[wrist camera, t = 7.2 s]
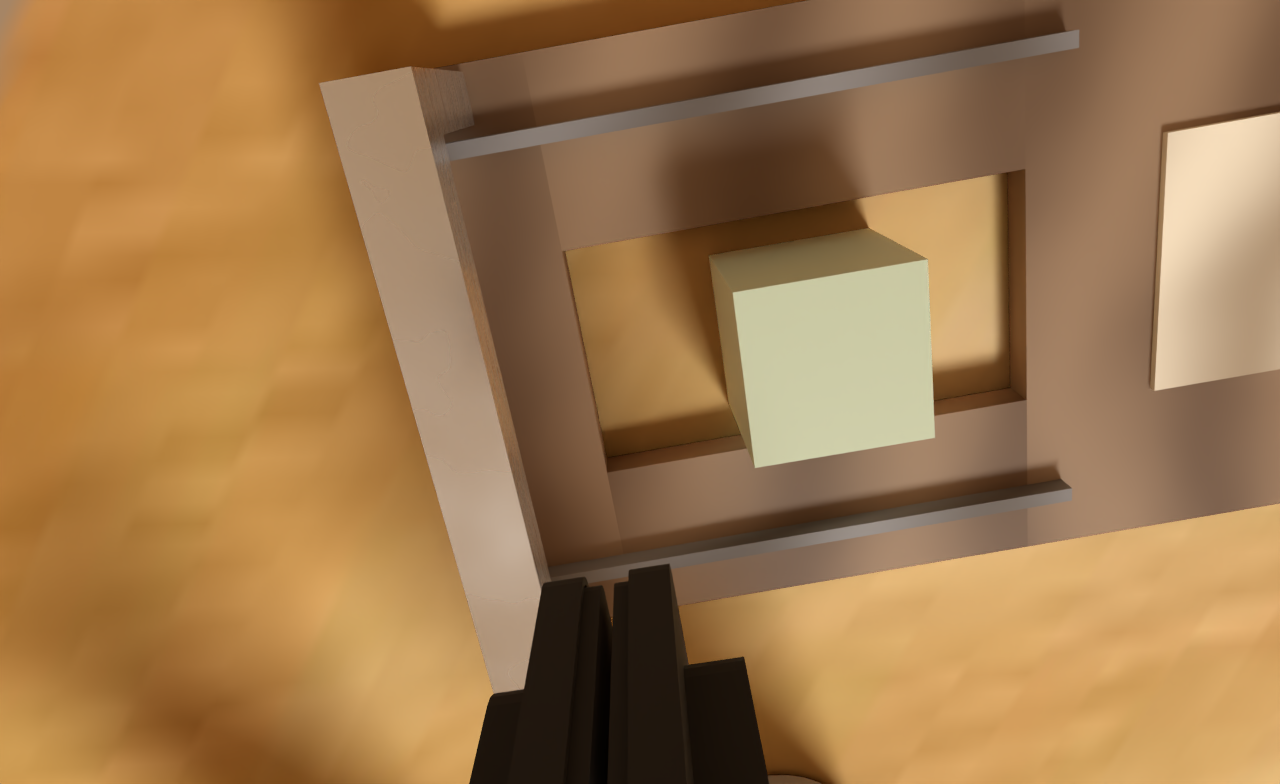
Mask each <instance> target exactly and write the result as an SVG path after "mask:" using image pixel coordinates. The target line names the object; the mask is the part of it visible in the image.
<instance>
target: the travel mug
mask: <svg viewBox="0 0 1280 784" xmlns="http://www.w3.org/2000/svg"><path fill="white" fill-rule="evenodd" d="M768 780H769V784H821V783H820V782H817V781H814V780H811V779H808V778H804V777H798V776H791V775H769V776H768Z"/></svg>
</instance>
